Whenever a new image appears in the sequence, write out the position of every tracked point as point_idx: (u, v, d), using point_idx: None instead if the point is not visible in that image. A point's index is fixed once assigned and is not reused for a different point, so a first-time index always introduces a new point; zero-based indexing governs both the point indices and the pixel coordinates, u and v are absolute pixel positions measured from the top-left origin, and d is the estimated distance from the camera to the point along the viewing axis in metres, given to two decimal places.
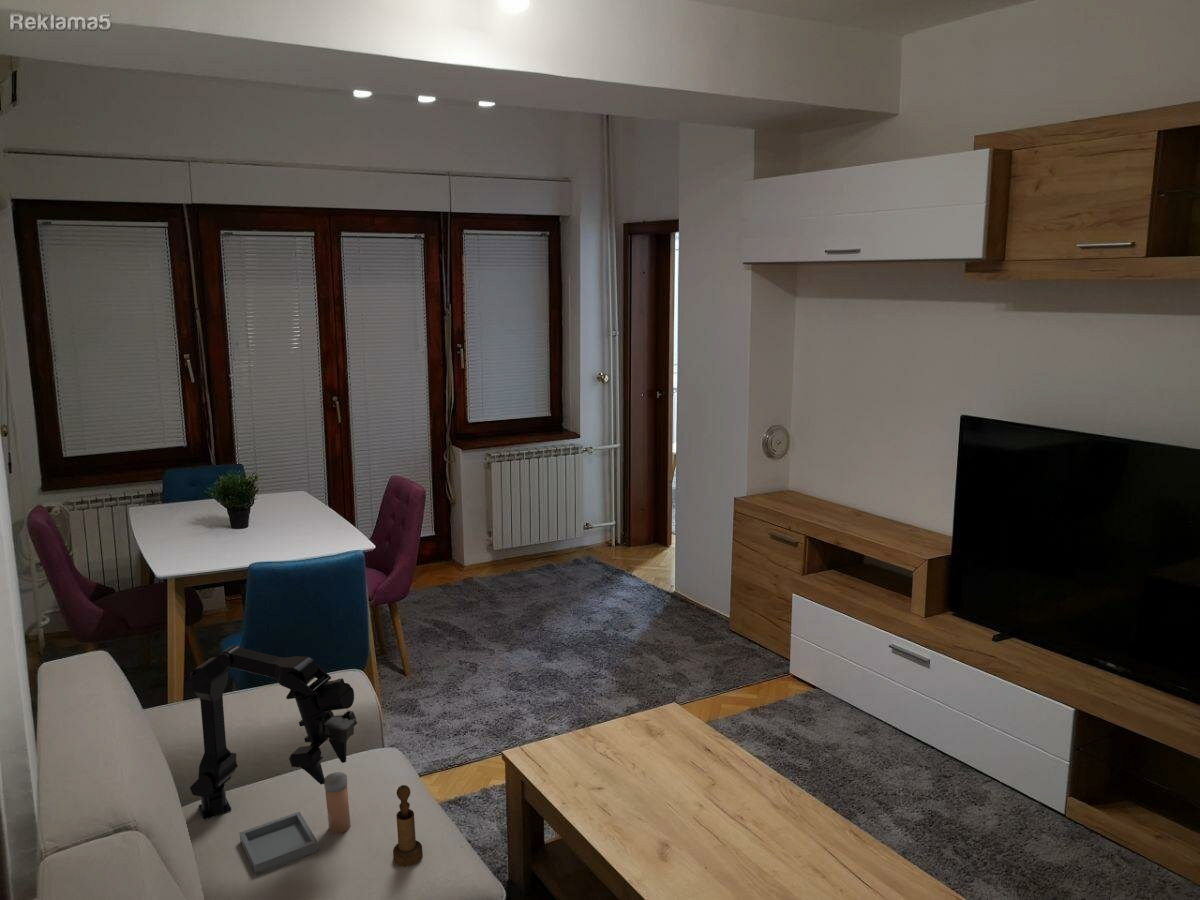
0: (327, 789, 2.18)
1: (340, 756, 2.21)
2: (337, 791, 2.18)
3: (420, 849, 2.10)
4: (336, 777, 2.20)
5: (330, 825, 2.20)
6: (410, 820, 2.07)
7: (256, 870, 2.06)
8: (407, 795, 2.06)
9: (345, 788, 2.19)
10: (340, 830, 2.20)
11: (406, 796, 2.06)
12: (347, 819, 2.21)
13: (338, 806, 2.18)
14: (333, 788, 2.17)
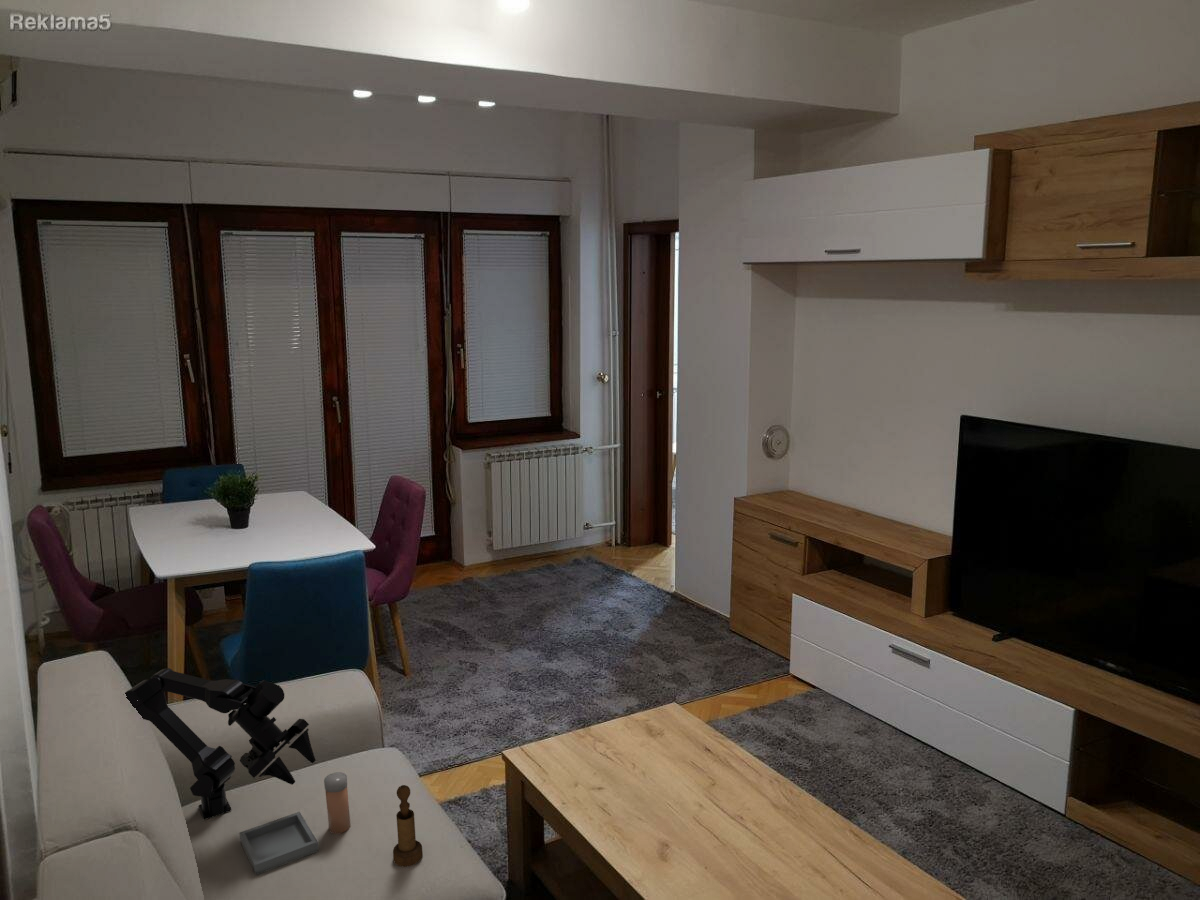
0: (327, 789, 2.18)
1: None
2: (337, 791, 2.18)
3: (420, 849, 2.10)
4: (336, 777, 2.20)
5: (330, 825, 2.20)
6: (410, 820, 2.07)
7: (256, 870, 2.06)
8: (407, 795, 2.06)
9: (345, 788, 2.19)
10: (340, 830, 2.20)
11: (406, 796, 2.06)
12: (347, 819, 2.21)
13: (338, 806, 2.18)
14: (333, 788, 2.17)
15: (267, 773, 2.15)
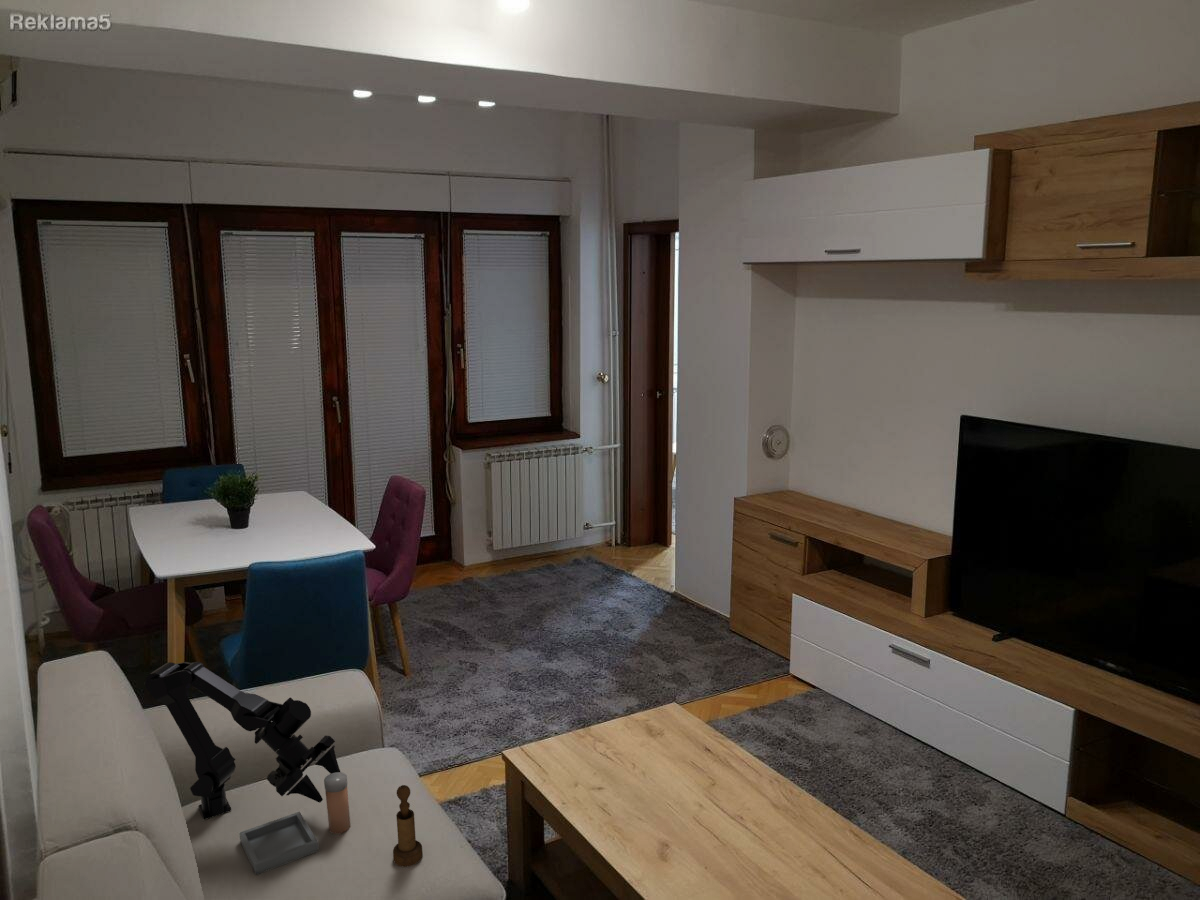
0: (327, 789, 2.18)
1: None
2: (337, 791, 2.18)
3: (420, 849, 2.10)
4: (336, 777, 2.20)
5: (330, 825, 2.20)
6: (410, 820, 2.07)
7: (256, 870, 2.06)
8: (407, 795, 2.06)
9: (345, 788, 2.19)
10: (340, 830, 2.20)
11: (406, 796, 2.06)
12: (347, 819, 2.21)
13: (338, 806, 2.18)
14: (333, 788, 2.17)
15: (295, 791, 2.15)
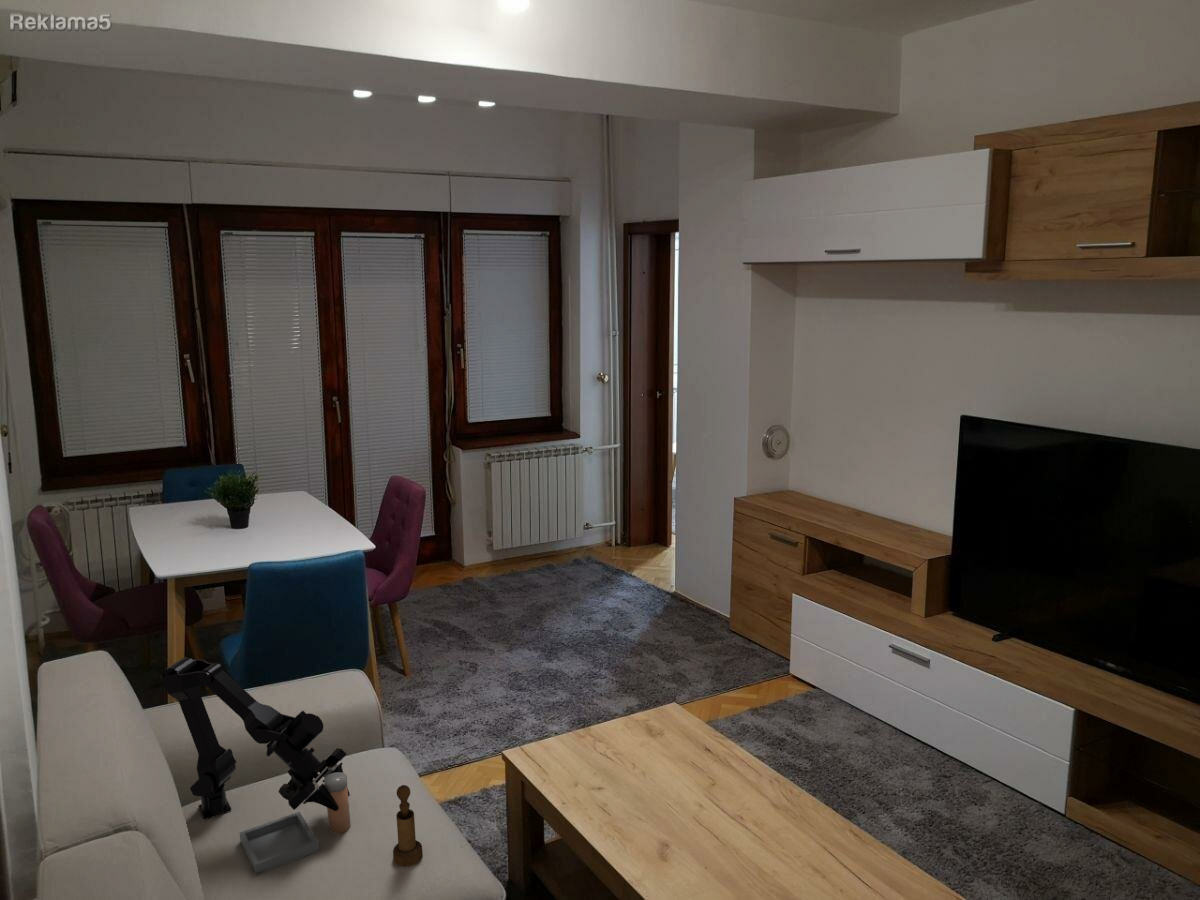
0: (327, 789, 2.18)
1: None
2: (337, 791, 2.18)
3: (420, 849, 2.10)
4: (336, 777, 2.20)
5: (330, 825, 2.20)
6: (410, 820, 2.07)
7: (256, 870, 2.06)
8: (407, 795, 2.06)
9: (345, 788, 2.19)
10: (340, 830, 2.20)
11: (406, 796, 2.06)
12: (347, 819, 2.21)
13: (338, 806, 2.18)
14: (333, 788, 2.17)
15: (311, 800, 2.17)
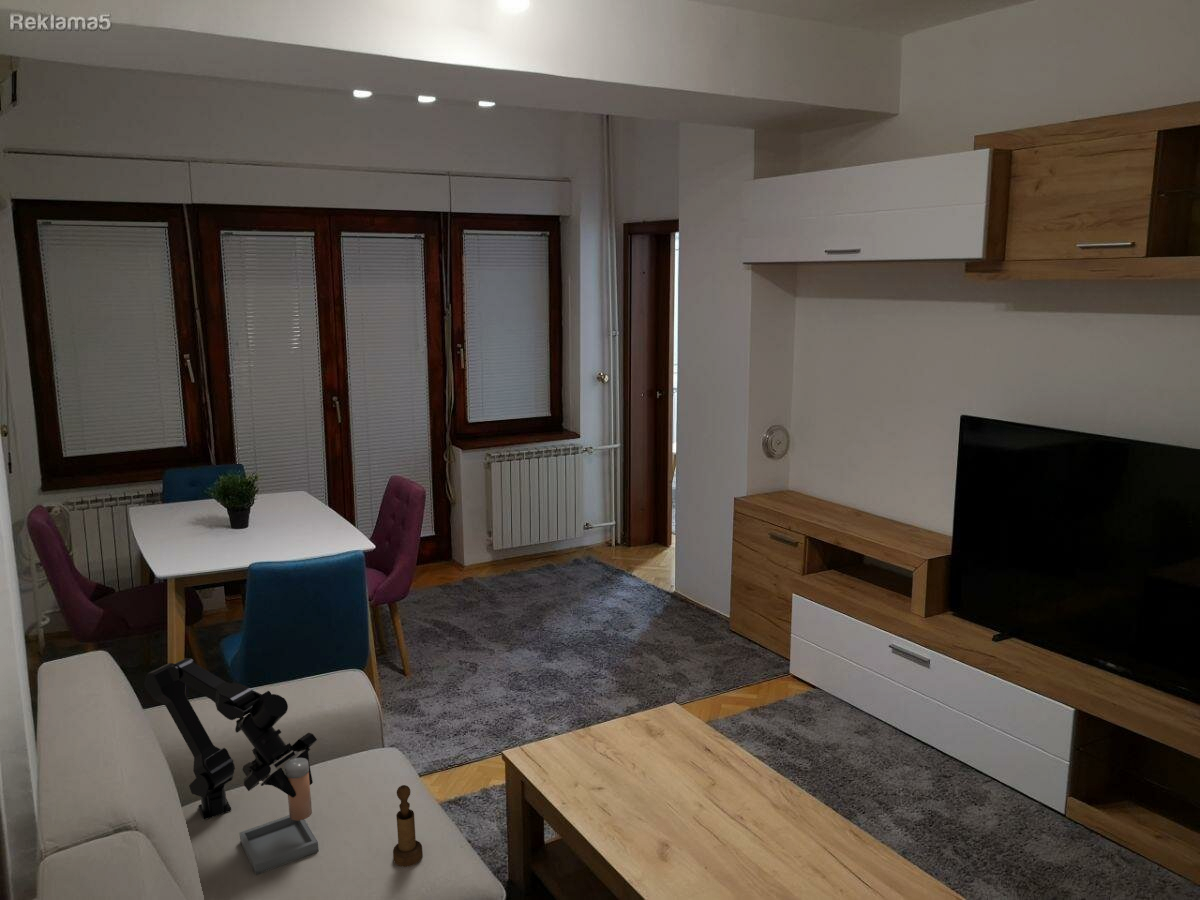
0: (286, 774, 2.12)
1: None
2: (295, 777, 2.11)
3: (420, 849, 2.10)
4: (297, 763, 2.13)
5: (289, 811, 2.14)
6: (410, 820, 2.07)
7: (256, 870, 2.06)
8: (407, 795, 2.06)
9: (305, 775, 2.12)
10: (298, 818, 2.14)
11: (406, 796, 2.06)
12: (306, 808, 2.14)
13: (296, 793, 2.12)
14: (291, 774, 2.11)
15: (269, 783, 2.11)
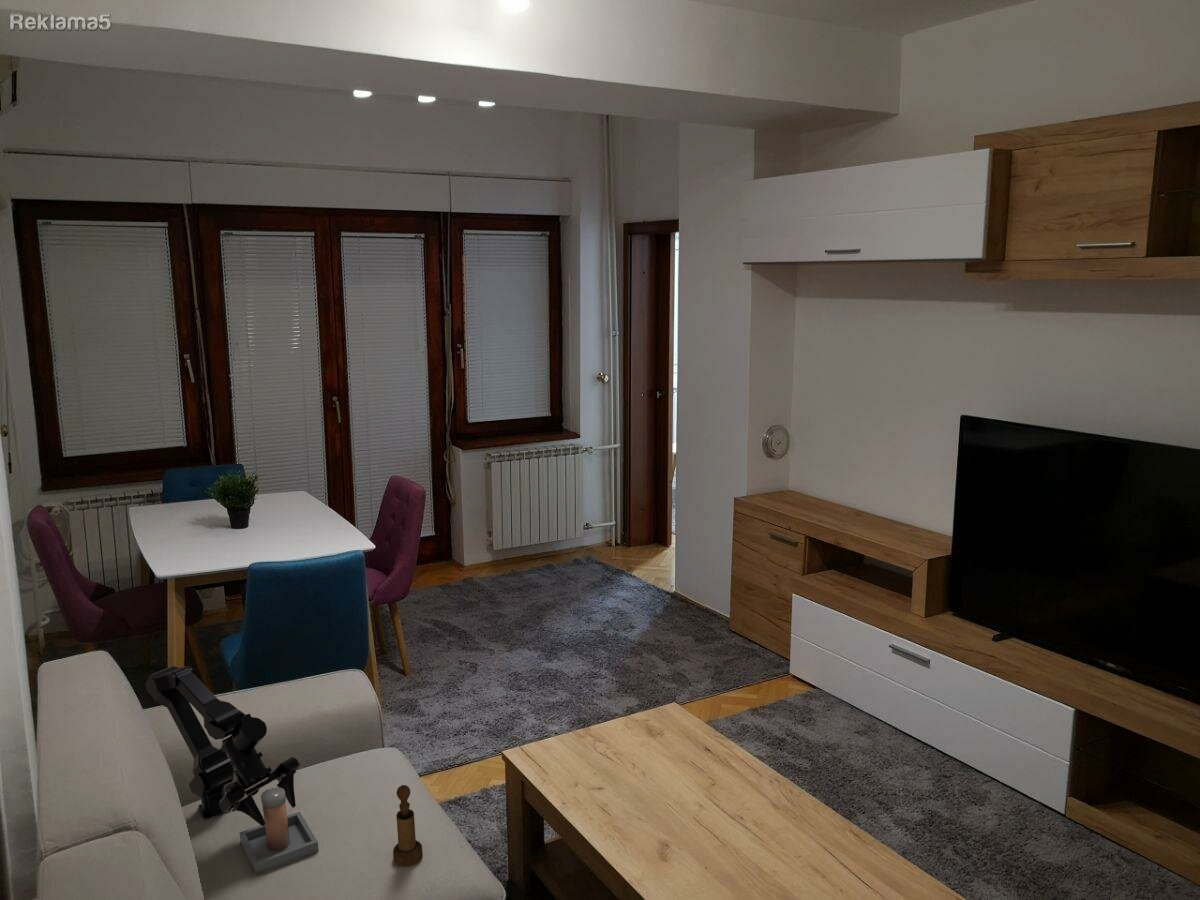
0: (262, 803, 2.11)
1: None
2: (270, 808, 2.11)
3: (420, 849, 2.10)
4: (274, 793, 2.13)
5: None
6: (410, 820, 2.07)
7: (256, 870, 2.06)
8: (407, 795, 2.06)
9: (280, 806, 2.12)
10: (274, 848, 2.13)
11: (406, 796, 2.06)
12: (282, 838, 2.13)
13: (271, 823, 2.11)
14: (266, 804, 2.10)
15: (240, 809, 2.10)
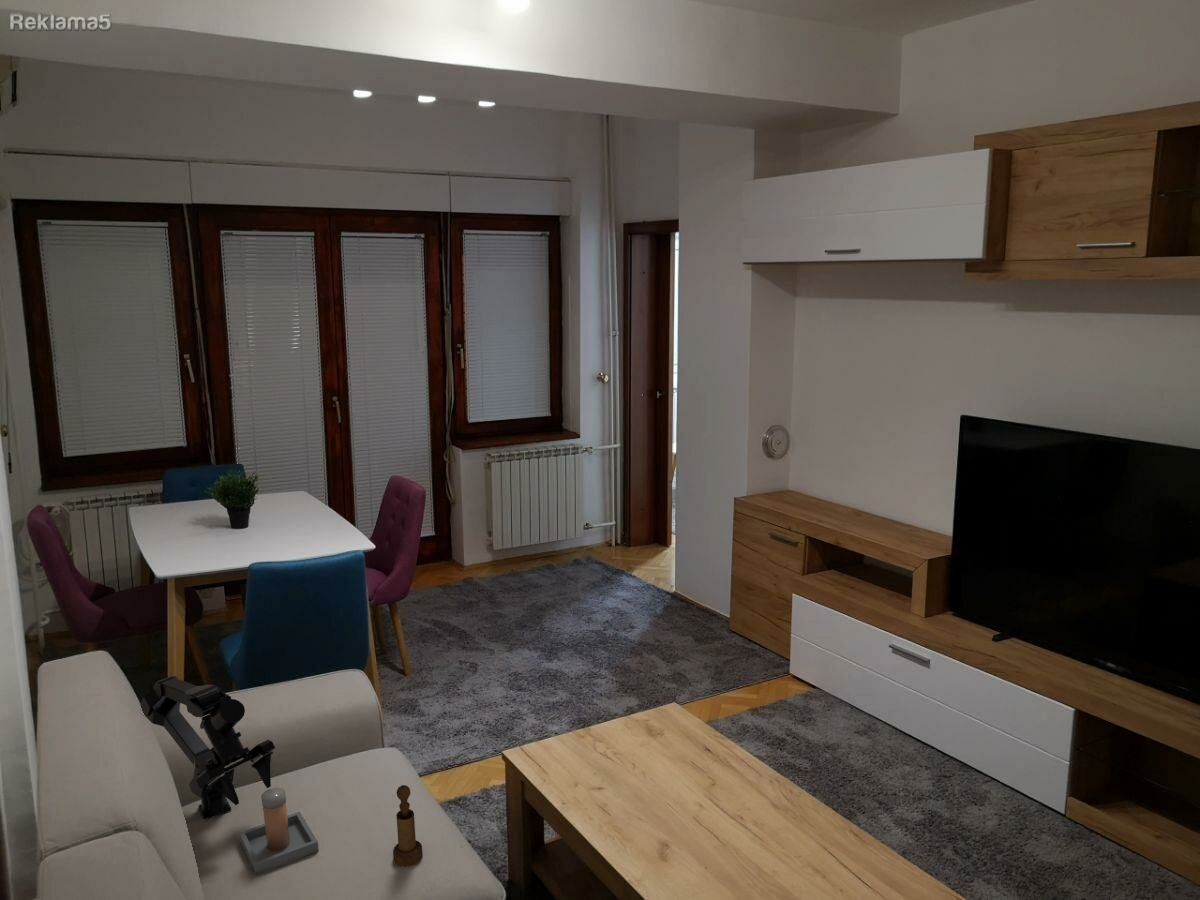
0: (262, 804, 2.11)
1: None
2: (270, 808, 2.10)
3: (420, 849, 2.10)
4: (275, 793, 2.13)
5: None
6: (410, 820, 2.07)
7: (256, 870, 2.06)
8: (407, 795, 2.06)
9: (280, 806, 2.11)
10: (274, 848, 2.13)
11: (406, 796, 2.06)
12: (282, 839, 2.13)
13: (271, 824, 2.11)
14: (266, 804, 2.10)
15: (214, 787, 2.13)
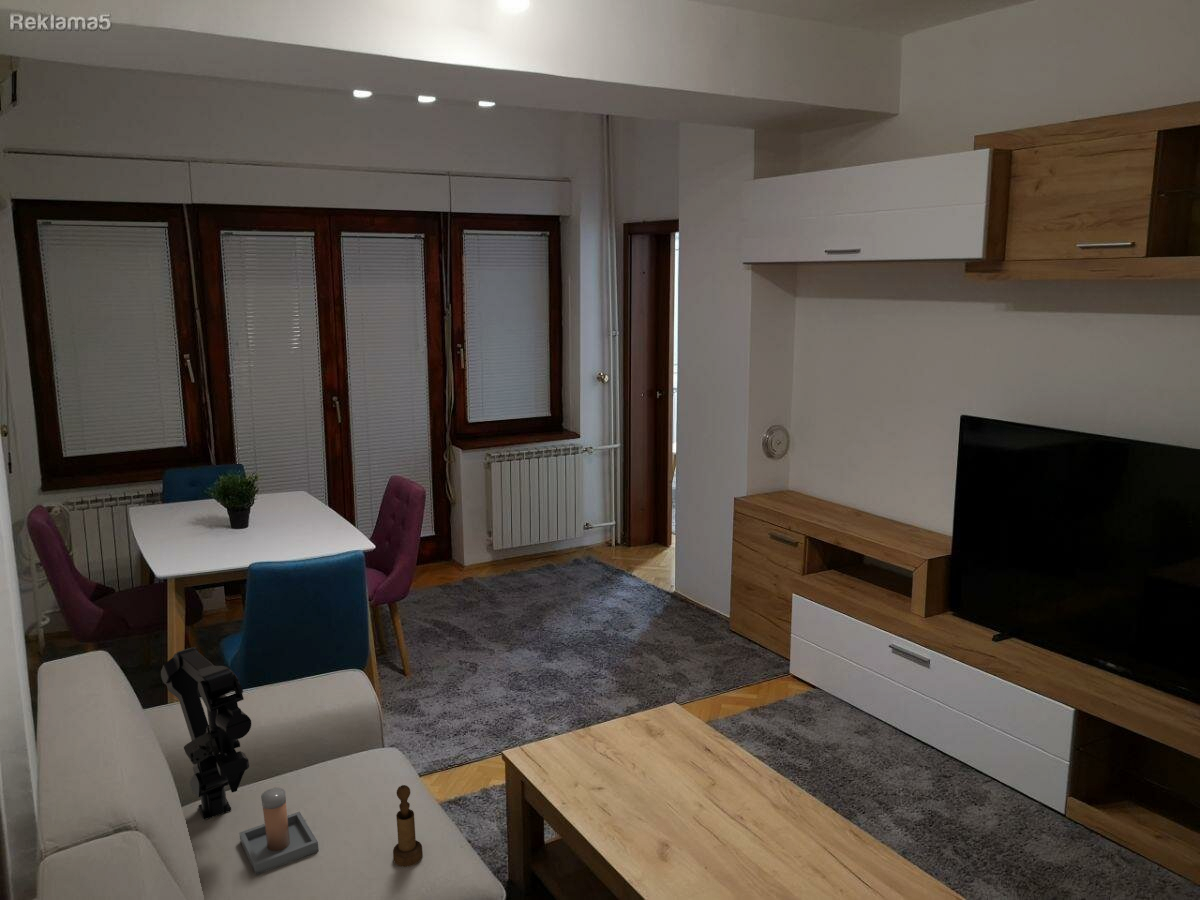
0: (262, 804, 2.11)
1: None
2: (270, 808, 2.10)
3: (420, 849, 2.10)
4: (275, 793, 2.13)
5: None
6: (410, 820, 2.07)
7: (256, 870, 2.06)
8: (407, 795, 2.06)
9: (280, 806, 2.11)
10: (274, 848, 2.13)
11: (406, 796, 2.06)
12: (282, 839, 2.13)
13: (271, 824, 2.11)
14: (266, 804, 2.10)
15: None
